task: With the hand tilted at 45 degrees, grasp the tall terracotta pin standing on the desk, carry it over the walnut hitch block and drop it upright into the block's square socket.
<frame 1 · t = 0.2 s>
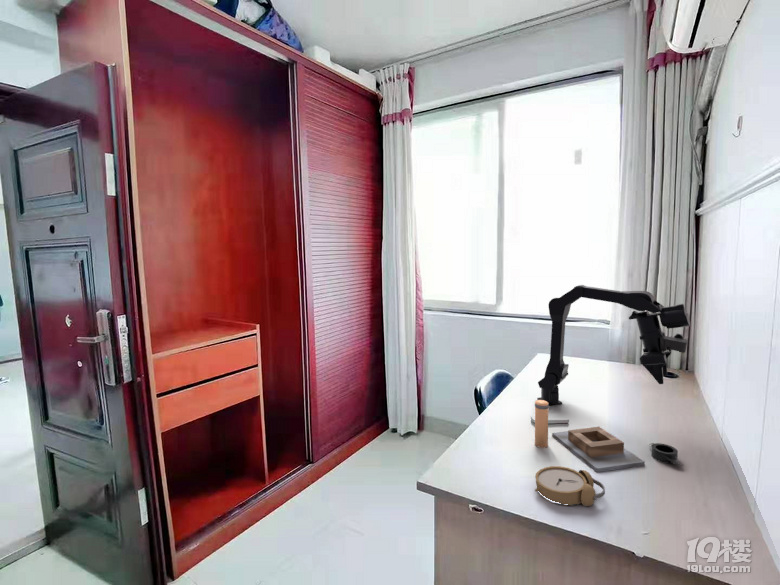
hand: (663, 379, 122), 15 cm above the table, tool pointing down, fingers open, 9 cm apart
hitch block: (594, 449, 112), on the table
alarm clock: (568, 494, 93), on the table
terracotta pin: (541, 444, 116), on the table
black hollow winged cylinder: (664, 459, 107), on the table
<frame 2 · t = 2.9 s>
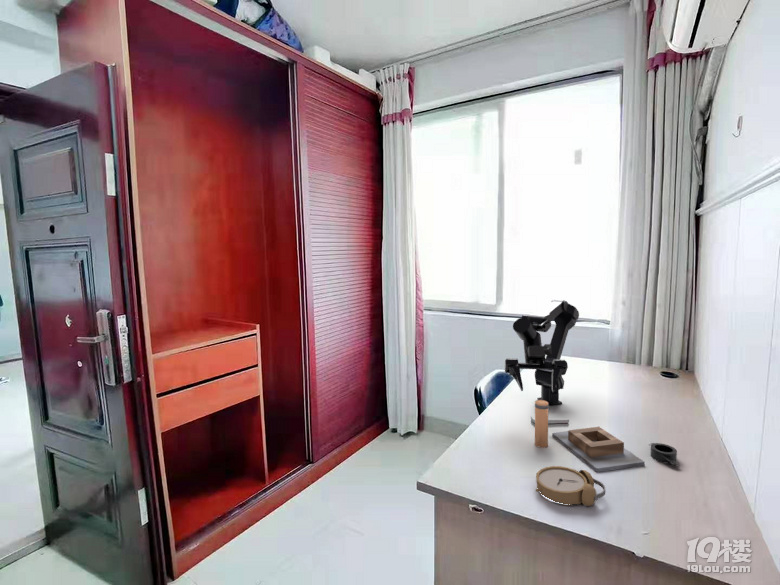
hand: (537, 391, 122), 13 cm above the table, tool tilted 45°, fingers open, 9 cm apart
nothing on the table moved.
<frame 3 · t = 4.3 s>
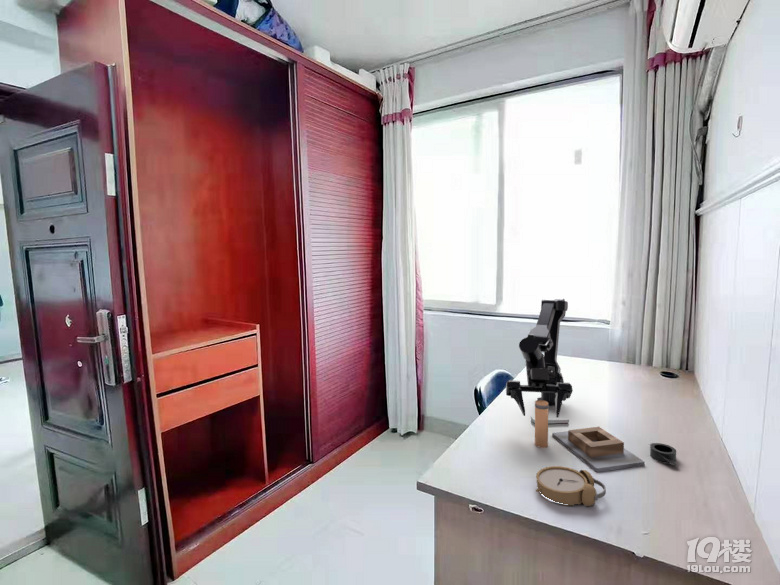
hand: (540, 416, 115), 8 cm above the table, tool tilted 45°, fingers open, 9 cm apart
nothing on the table moved.
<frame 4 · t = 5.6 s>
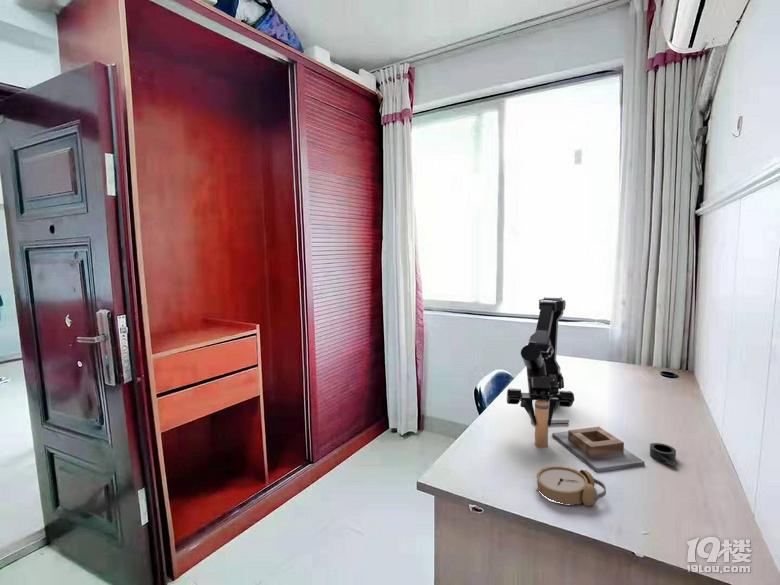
hand: (542, 425, 114), 7 cm above the table, tool tilted 45°, fingers closed on terracotta pin, 4 cm apart
terracotta pin: (541, 444, 116), on the table, touching gripper
everything else where it was.
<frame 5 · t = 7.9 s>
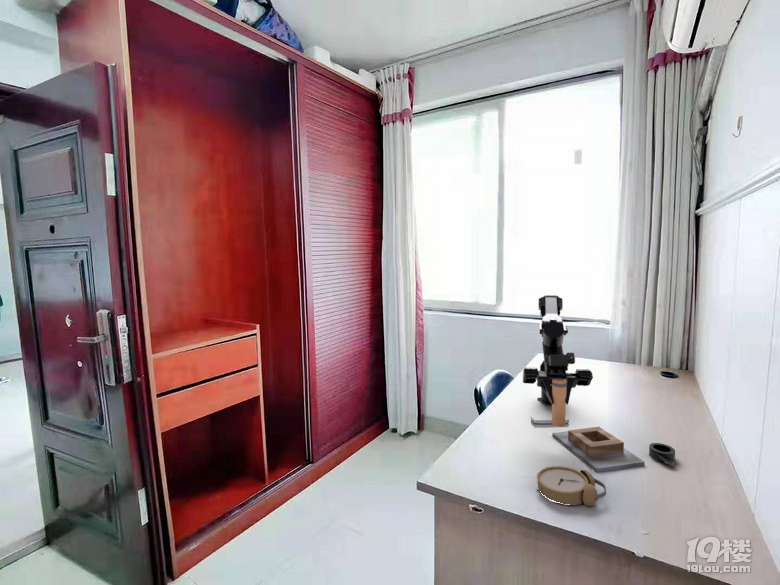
hand: (559, 403, 112), 13 cm above the table, tool tilted 45°, fingers closed on terracotta pin, 4 cm apart
terracotta pin: (558, 423, 114), point 7 cm above the table, touching gripper
everything else where it was.
when the fingers open (9 cm above the table, at t = 10.4 s): terracotta pin stays where it is, resting on hitch block.
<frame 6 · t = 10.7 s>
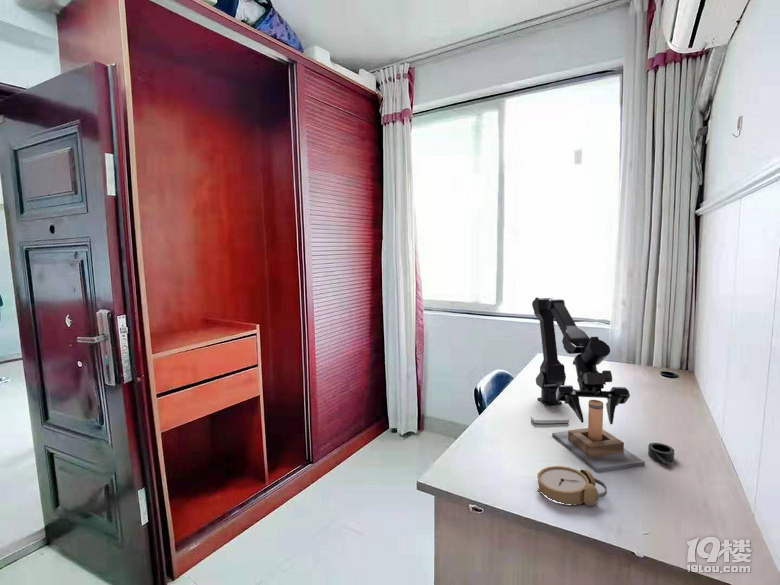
hand: (597, 423, 110), 9 cm above the table, tool tilted 45°, fingers open, 7 cm apart
terracotta pin: (594, 446, 112), point 1 cm above the table, touching hitch block
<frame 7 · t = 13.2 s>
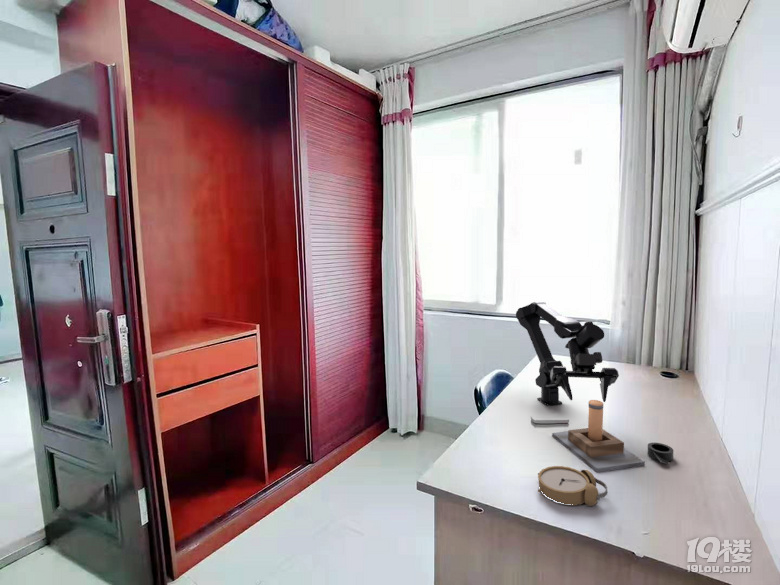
hand: (588, 400, 118), 11 cm above the table, tool tilted 45°, fingers open, 9 cm apart
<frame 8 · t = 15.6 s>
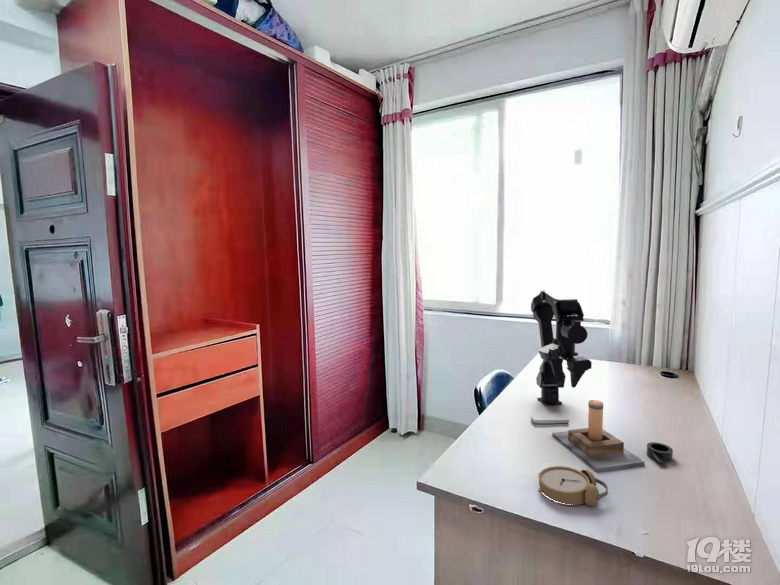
hand: (564, 382, 129), 13 cm above the table, tool pointing down, fingers open, 9 cm apart
at the end: terracotta pin 0.0 cm off-centre on the hitch block, point 1.0 cm above the hitch block's base; terracotta pin tilted 0°; the gripper is holding nothing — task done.
